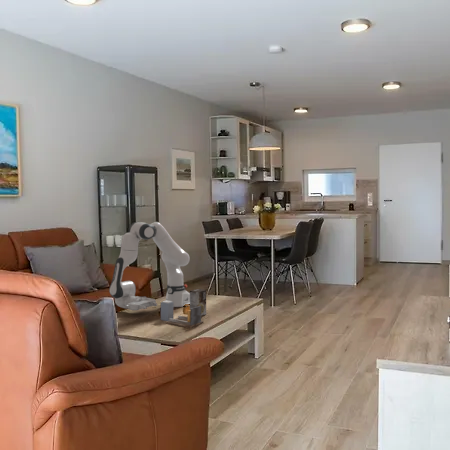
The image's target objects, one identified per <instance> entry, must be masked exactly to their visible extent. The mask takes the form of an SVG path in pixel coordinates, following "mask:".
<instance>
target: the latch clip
mask: <svg viewBox="0 0 450 450" xmlns="http://www.w3.org/2000/svg"><path fill="white" fill-rule="evenodd" d="M187 317H188V322H191V310H190V309H188V310H187Z"/></svg>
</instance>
